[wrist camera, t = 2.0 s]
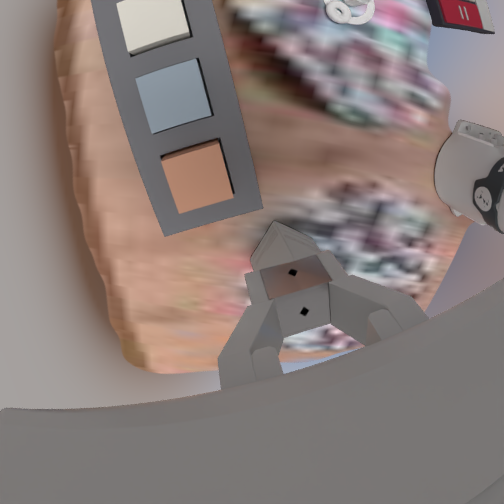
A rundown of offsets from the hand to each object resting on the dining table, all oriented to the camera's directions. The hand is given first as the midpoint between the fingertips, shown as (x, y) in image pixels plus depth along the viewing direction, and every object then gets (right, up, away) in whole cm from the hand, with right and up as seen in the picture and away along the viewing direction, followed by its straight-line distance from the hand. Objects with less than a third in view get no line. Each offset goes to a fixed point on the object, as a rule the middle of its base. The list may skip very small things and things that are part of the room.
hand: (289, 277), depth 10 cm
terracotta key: (-7, +10, +22) cm, 26 cm away
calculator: (+33, +43, +15) cm, 56 cm away
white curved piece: (+9, +35, +16) cm, 39 cm away
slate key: (-9, +18, +18) cm, 27 cm away
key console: (-10, +20, +21) cm, 30 cm away
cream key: (-11, +25, +13) cm, 30 cm away
